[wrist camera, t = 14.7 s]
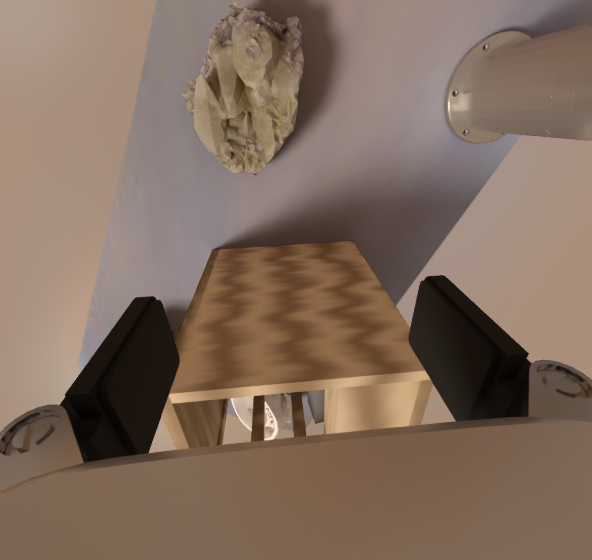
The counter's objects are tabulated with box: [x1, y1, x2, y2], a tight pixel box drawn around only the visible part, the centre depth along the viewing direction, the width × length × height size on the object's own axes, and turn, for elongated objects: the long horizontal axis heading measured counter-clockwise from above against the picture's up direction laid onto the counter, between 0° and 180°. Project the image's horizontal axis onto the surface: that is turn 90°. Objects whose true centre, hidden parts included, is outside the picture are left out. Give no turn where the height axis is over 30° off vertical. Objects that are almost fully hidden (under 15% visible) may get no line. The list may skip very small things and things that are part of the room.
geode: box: [183, 2, 304, 175], centre depth 35 cm, size 17×9×15 cm
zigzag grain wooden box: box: [162, 241, 433, 450], centre depth 41 cm, size 24×19×28 cm
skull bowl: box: [231, 393, 292, 440], centre depth 63 cm, size 10×14×12 cm
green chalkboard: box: [308, 389, 325, 424], centre depth 43 cm, size 19×15×6 cm
